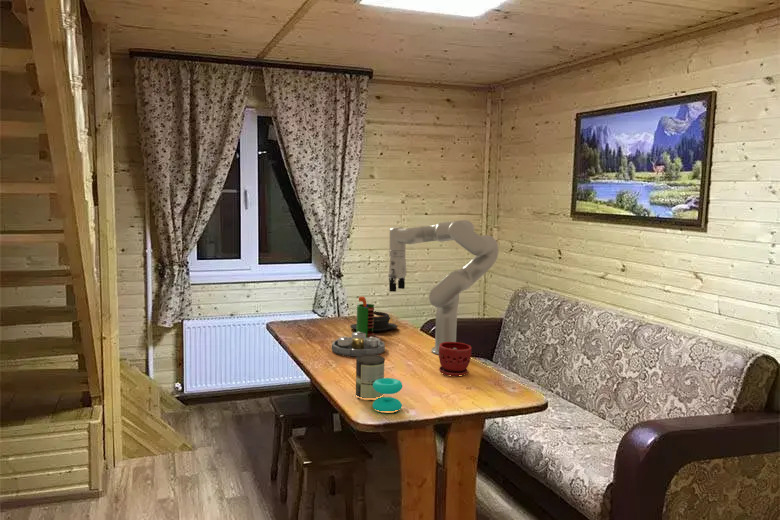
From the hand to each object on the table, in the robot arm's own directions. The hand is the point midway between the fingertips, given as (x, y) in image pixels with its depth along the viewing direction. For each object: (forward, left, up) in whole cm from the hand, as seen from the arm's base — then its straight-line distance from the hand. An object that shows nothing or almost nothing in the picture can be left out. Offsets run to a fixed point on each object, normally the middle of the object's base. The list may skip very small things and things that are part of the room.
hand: (397, 290), depth 312 cm
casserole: (+25, -22, -27) cm, 43 cm away
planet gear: (+3, +19, -25) cm, 31 cm away
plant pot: (-42, +30, -27) cm, 58 cm away
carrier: (+10, +19, -26) cm, 34 cm away
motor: (+21, -6, -27) cm, 34 cm away
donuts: (-39, +82, -27) cm, 95 cm away
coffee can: (-27, +73, -27) cm, 82 cm away
